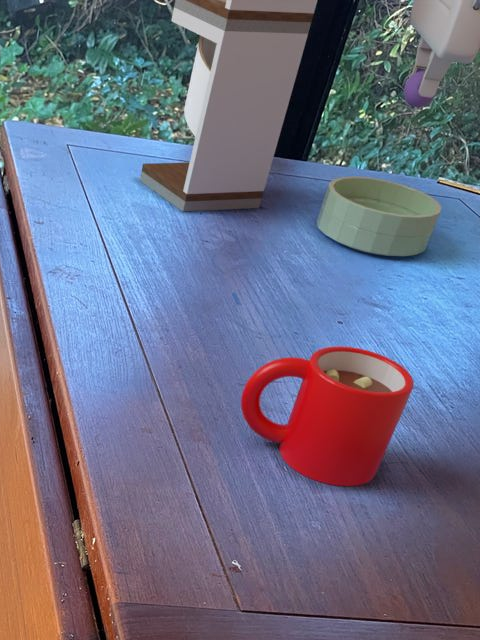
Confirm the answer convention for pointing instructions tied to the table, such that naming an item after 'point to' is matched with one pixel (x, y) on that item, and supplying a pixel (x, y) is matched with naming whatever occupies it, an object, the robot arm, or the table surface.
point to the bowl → (378, 216)
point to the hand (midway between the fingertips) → (421, 90)
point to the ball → (415, 91)
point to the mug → (333, 412)
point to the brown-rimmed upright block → (234, 99)
